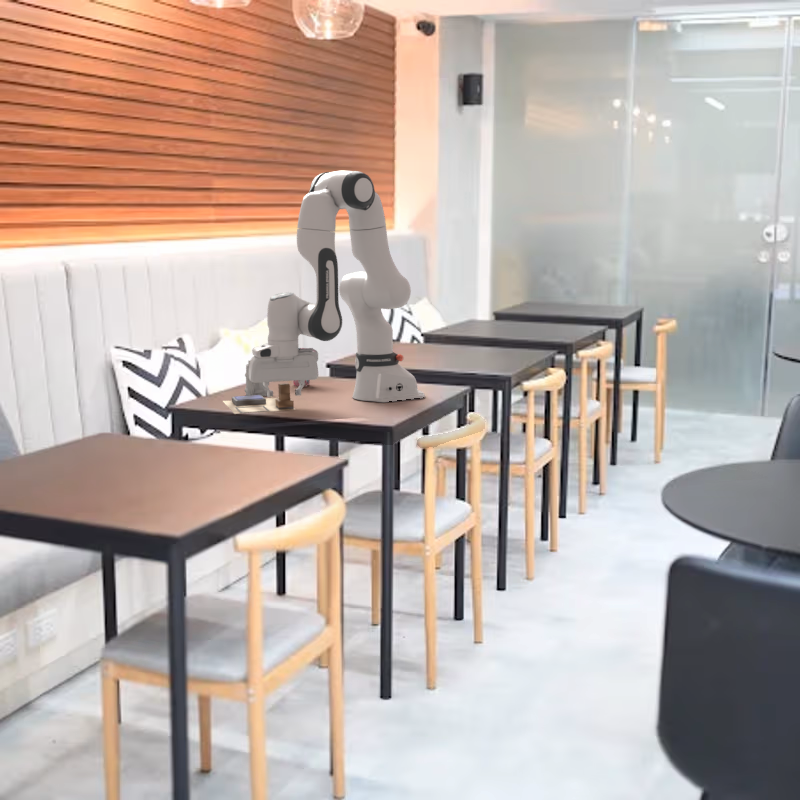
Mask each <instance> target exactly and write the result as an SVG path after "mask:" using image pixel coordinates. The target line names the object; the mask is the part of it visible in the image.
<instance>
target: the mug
mask: <svg viewBox="0 0 800 800" xmlns="http://www.w3.org/2000/svg"><path fill="white" fill-rule="evenodd" d="M249 365H250V360H248V361H247V364H246V365H245V374H244V377H245V388H244V392H245V396H253V395H262V396H264V397H267V390H266V389H265V387H264V385H263V382H259V383H253V382H251V381H250V379H249Z"/></svg>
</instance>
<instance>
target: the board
mask: <svg viewBox="0 0 800 800" xmlns="http://www.w3.org/2000/svg"><path fill="white" fill-rule="evenodd" d="M276 399H279V397H265V396H264V397H263V396H262V395H253V396H246V395H241V396H240V395H239V396H238V395H237V396H231V400H222V403H224V405H225V406H226V407H227V408H228V409H229V410H230V411H231V412H232V413H233V414H234V415H236V414H237V415H238V414H251V413H252V414H253V413H255V414H256V413H266V412H268V413H269V412H284V411H296V410H297V408H295V407H294V409H280V410H279V409H278V408H276Z"/></svg>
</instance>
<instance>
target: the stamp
mask: <svg viewBox="0 0 800 800" xmlns="http://www.w3.org/2000/svg"><path fill="white" fill-rule="evenodd" d="M278 398H279V399H276V408H278V409H279V410H280V409H294V408H295V407H294V405H295V403H294V399H292V398H291V384H290V383H287V382H284V383H278Z"/></svg>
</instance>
